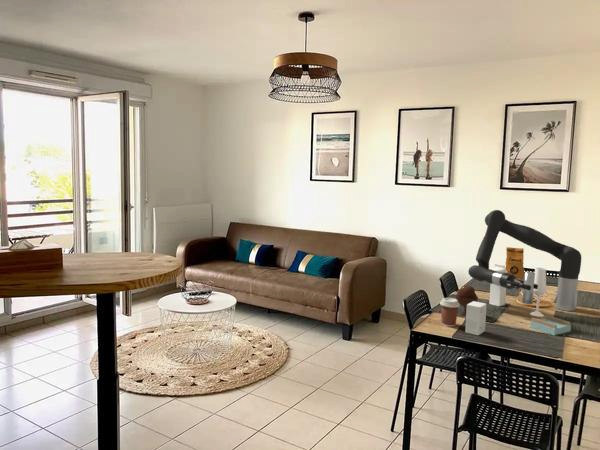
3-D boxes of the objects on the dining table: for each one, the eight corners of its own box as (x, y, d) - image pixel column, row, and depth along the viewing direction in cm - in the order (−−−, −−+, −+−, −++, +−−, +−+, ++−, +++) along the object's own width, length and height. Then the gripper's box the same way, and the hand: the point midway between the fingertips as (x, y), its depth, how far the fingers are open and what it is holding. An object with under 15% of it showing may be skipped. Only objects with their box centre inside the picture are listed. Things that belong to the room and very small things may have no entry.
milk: (499, 306, 262) (501, 266, 259) (488, 303, 267) (491, 264, 264) (505, 304, 266) (508, 265, 263) (495, 302, 270) (497, 263, 268)
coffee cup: (455, 328, 223) (457, 303, 222) (436, 325, 228) (437, 300, 227) (460, 323, 231) (462, 299, 229) (441, 320, 236) (443, 296, 234)
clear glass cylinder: (526, 301, 238) (528, 271, 236) (534, 303, 234) (537, 272, 232) (520, 302, 236) (522, 271, 234) (528, 304, 232) (530, 273, 230)
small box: (471, 328, 225) (473, 300, 223) (485, 331, 221) (487, 303, 219) (464, 332, 218) (466, 304, 217) (478, 335, 214) (480, 307, 213)
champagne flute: (538, 317, 244) (542, 270, 241) (526, 313, 250) (530, 267, 247) (547, 315, 247) (550, 269, 244) (535, 311, 253) (539, 266, 250)
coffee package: (523, 282, 321) (525, 249, 318) (502, 280, 327) (505, 247, 324) (524, 279, 329) (526, 247, 327) (504, 277, 335) (506, 245, 333)
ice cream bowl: (476, 312, 249) (478, 284, 248) (476, 318, 239) (478, 289, 237) (454, 310, 253) (456, 282, 251) (454, 316, 242) (456, 287, 241)
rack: (546, 323, 233) (547, 314, 233) (570, 331, 223) (571, 322, 222) (530, 327, 227) (530, 318, 227) (554, 335, 217) (554, 325, 216)
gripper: (494, 273, 243) (524, 281, 228) (513, 271, 249) (544, 278, 234) (493, 288, 243) (523, 296, 229) (512, 285, 250) (542, 293, 235)
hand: (533, 287), depth 232 cm, fingers closed on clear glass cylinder, 4 cm apart
